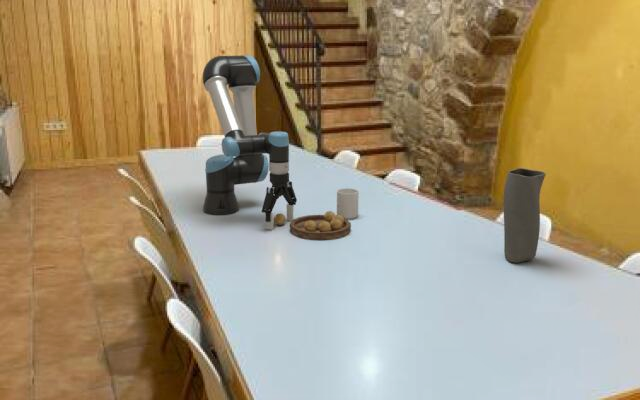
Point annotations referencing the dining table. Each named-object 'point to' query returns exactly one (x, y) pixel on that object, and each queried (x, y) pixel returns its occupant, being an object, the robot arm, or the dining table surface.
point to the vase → (522, 214)
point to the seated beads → (326, 223)
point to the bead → (279, 219)
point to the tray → (317, 229)
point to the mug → (347, 203)
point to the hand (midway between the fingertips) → (280, 224)
